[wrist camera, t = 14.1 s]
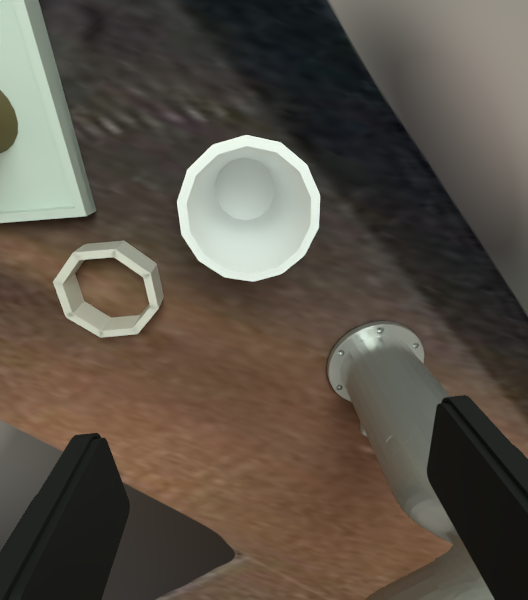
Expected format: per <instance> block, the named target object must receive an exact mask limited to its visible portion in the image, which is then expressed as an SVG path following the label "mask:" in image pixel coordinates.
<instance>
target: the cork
mask: <svg viewBox="0 0 528 600" xmlns="http://www.w3.org/2000/svg"><path fill="white" fill-rule="evenodd" d="M17 135H18V121H17V117H16V113H15V110H14V108H13V106H12V105H11V103H10V101H9V99H8V98H7V97H6V96H5V95H4V93H3V92H2V91H1V90H0V153H2V152H4V151H7V150H8V149H9V148H10V147H11V146H12V145H13V144H14V142H15V140H16V137H17Z"/></svg>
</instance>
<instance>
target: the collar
mask: <svg viewBox="0 0 528 600" xmlns="http://www.w3.org/2000/svg"><path fill="white" fill-rule="evenodd" d="M111 257H114V258H116V259H117V260H119V261H120V262H121V263H123V264H124V265H126V266H127V267H129V268H130V269H132V270H133V271H135V272H136V273H138V274H139V275H140V276H142V277H143V278H144V283H145V287H146V291H147V295H148V300H149V304H148V306H147V307H146V308H145V309H144V311H143V312H142V313H141V314H140V315H135V316H124V317H113V318H111V317H109V316H107V315H106V314H104V313H103V312H101V311H99V310H98V309H96V308H94V307H93V306H91V305H90V304H88V303H86V302H85V301H84V299H83V296H82V293H81V290H80V287H79V283H78V280H77V277H76V274H75V273H76V272H77V271H78V269H79V268H80V266H81V265H82V263H83V262H84V261H85V260H87V259H99V258H111ZM53 283H54V286H55V289H56V292H57V294H58V297H59V300H60V303H61V305H62V308H63V311H64V314H65V316H66V318H68V319H70V320H71V321H73V322H75V323H77V324H78V325H80V326H82V327H83V328H85V329H87V330H89V331H90V332H92V333H94V334H95V335H97V336H99V337H100V338H101V337H112V336H123V335H133V334H138V333H139V332H140V331H141V329H142V328H143V327H144V326H145V325H146V323H147V322H148V321H149V320H150V318H151V317H152V316H153V315H154V314H155V312H156V311H157V310H158V309H159V307H160V305H161V302H162V300H163V298H164V295H163V290H162V285H161V281H160V276H159V271H158V267H157V264H156V263H155V262H154V261H152V260H151V259H149V258H148V257H147V256H145V255H144V254H142V253H141V252H140V251H138V250H137V249H135V248H134V247H133V246H131V245H130V244H128V243H127V242H125V241H115V242H102V243H90V244H85V245H83V246H82V247H80V248H79V249H77V250H76V251H74V252H73V253H72V255H71V256H70V258H69V259H68V261H67V262H66V264H65V265H64V267H63V268H62V270H61V271H60V273H59V274H58V276H57V277H56V279H55V280H54V281H53Z"/></svg>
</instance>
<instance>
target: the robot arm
mask: <svg viewBox="0 0 528 600" xmlns="http://www.w3.org/2000/svg"><path fill="white" fill-rule="evenodd" d="M423 363H424V350H423V346H422V344H421V342H420V340H419V339H418V338H417V336H416V335H415V334H414V333H413V332H412V331H411V330H410V329H408V328H407V327H405V326H403V325H401V324H398V323H395V322H388V321H378V322H372V323H367V324H364V325H362V326H359V327H357V328H355V329H353V330H352V331H350V332H348V333H347V334H346V335H345V336H343V337H342V338H341V339H340V340H339V341H338V342H337V344H336V345H335V346H334V348H333V350H332V351H331V353H330V356H329V359H328V363H327V375H328V378H329V381H330V383H331V385H332V387H333V389H334V390H335V391H336V393H337V394H338V395H340V396H341V397H342V398H344V399H346V400H348V401H350V402H352V404H353V406H354V408H355V410H356V413H357V415H358V417H359V419H360V432H361V434H363V435H364V436H367V437H368V439H369V442H370V444H371V446H372V448H373V451H374V453H375V455H376V457H377V460H378V462H379V464H380V466H381V469H382V471H383V473H384V475H385V478H386V480H387V482H388V485H389V487H390V489H391V491H392V493H393V495H394V497H395V499H396V501H397V503H398V504H399V505H400V507H401V508H402V510H403V511H404V512H405V513H406V514H407V515H408V516H409V517H410V518H411V519H412V520H413V521H415V522H416V523H417V524H419V525H420V526H421V527H423V528H425V529H426V530H428V531H429V532H431V533H433V534H435V535H437V536H438V537H440V538H442V539H444V540H446V541H448V542H450V543H452V544H453V545H452V547H451V549H450V550H449V551H448V552H446V553H445V554H443V555H441V556H439V557H438V558H436V559H435V560H434V561H433V562H431V563H429V564H427V565H426V566H424V567H422V568H420V569H418V570H416V571H414V572H412V573H410V574H408V575H406V576H404V577H402V578H400V579H398V580H396V581H394V582H392V583H391V584H389V585H387V586H385V587H383V588H381V589H379V590H378V591H376V592H374V593H373V594H371V595H370V596H368V597H367V598H366V599H365V600H528V459H527V458H526V457H525V456H524V455H523V453H522V452H521V451H520V450H519V449H518V448H516V447H515V446H514V445H512V444H511V442H510V441H509V440H508V439H507V438H506V437H505V436H504V435H503V434H502V433H501V431H500V430H499V429H498V428H497V427H496V426H495V425H494V424H493V423H492V422H491V421H490V419H489V418H488V417H487V416H486V415H485V414H484V413H483V412H482V411H481V410H480V409H479V407H478V406H477V405H476V404H475V403H474V402H473V401H472V400H471V399H470V398H469V397H468V396H465V395H464V396H455V397H451V396H450V395H449V394H448V393H447V391H446V390H445V389H444V388H443V387H442V385H441V384H440V383H439V382H438V381H437V379H436V378H435V377H434V376H433V375H432V374H431V372H430V371H429V370H428V369H427V368H426V366H425V365H424V364H423ZM129 506H130V504H129V499H128V497H127V494H126V491H125V488H124V486H123V483H122V480H121V478H120V475H119V472H118V469H117V467H116V464H115V461H114V459H113V456H112V453H111V451H110V448H109V445H108V442H107V440H106V439H105V438H101V436H100V435H99V434H98V433H92V434H82V435H75V436H74V437H73V438H72V439H71V440H70V442H69V444H68V445H67V447H66V449H65V450H64V452H63V454H62V455H61V457H60V459H59V460H58V462H57V463H56V465H55V467H54V468H53V470H52V472H51V473H50V475H49V476H48V478H47V480H46V481H45V483H44V485H43V486H42V488H41V489H40V491H39V493H38V494H37V495H36V496H35V497H34V499H33V500H32V502H31V503H30V505H29V506H28V508H27V510H26V511H25V513H24V514H23V516H22V518H21V519H20V521H19V523H18V524H17V526H16V528H15V529H14V531H13V532H12V534H11V536H10V537H9V539H8V540H7V542H6V544H5V545H4V547H3V549H2V550H1V552H0V600H101V598H102V595H103V592H104V589H105V586H106V583H107V580H108V577H109V574H110V571H111V568H112V564H113V561H114V558H115V555H116V552H117V549H118V546H119V543H120V540H121V537H122V534H123V531H124V528H125V524H126V521H127V518H128V515H129V509H130V507H129Z"/></svg>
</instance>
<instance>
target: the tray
mask: <svg viewBox="0 0 528 600" xmlns="http://www.w3.org/2000/svg"><path fill="white" fill-rule="evenodd" d="M0 90H1V91H2V92H3V93H4V95H5V96H6V97H7V98H8V99H9V101H10V103H11V105H12V106H13V108H14V110H15V113H16V117H17V121H18V135H17V137H16V140H15V142H14V144H13V145H12V146H11V147H10V148H9V149H8V150H7V151H4V152H2V153H0V223H7V222H20V221H32V220H45V219H58V218H70V217H83V216H88V215H90V214H92V213H94V212H96V208H95V204H94V200H93V197H92V193H91V189H90V186H89V182H88V179H87V175H86V171H85V168H84V164H83V160H82V157H81V153H80V150H79V146H78V142H77V139H76V135H75V131H74V128H73V124H72V121H71V117H70V113H69V110H68V106H67V102H66V99H65V95H64V92H63V88H62V84H61V81H60V77H59V73H58V70H57V66H56V63H55V59H54V55H53V52H52V48H51V44H50V41H49V37H48V34H47V30H46V26H45V23H44V19H43V15H42V12H41V8H40V5H39V1H38V0H0Z"/></svg>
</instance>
